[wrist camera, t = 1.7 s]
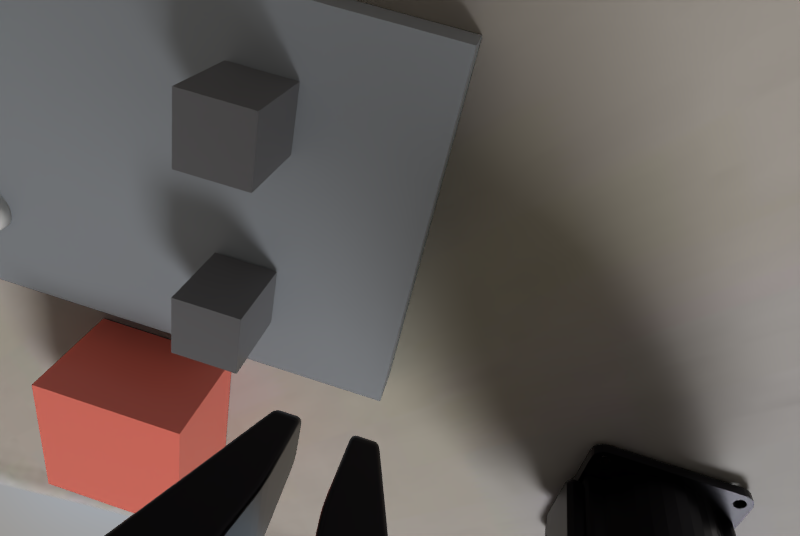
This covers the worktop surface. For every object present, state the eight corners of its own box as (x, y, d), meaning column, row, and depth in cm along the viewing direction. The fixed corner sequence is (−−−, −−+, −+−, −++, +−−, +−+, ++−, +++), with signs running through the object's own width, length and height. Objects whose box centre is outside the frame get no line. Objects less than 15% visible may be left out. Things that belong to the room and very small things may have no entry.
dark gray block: (299, 81, 18) (258, 111, 16) (291, 155, 20) (251, 193, 17) (224, 60, 18) (171, 85, 16) (220, 134, 20) (171, 169, 17)
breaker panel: (482, 35, 18) (472, 53, 16) (388, 376, 26) (373, 418, 24) (-70, -116, 19) (-145, -117, 17) (-2, 252, 27) (-49, 282, 25)
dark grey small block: (277, 271, 22) (240, 319, 20) (271, 322, 23) (236, 373, 21) (214, 252, 22) (171, 297, 20) (212, 304, 24) (171, 352, 21)
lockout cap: (232, 359, 27) (179, 434, 23) (225, 450, 31) (178, 528, 27) (103, 318, 28) (31, 384, 24) (110, 412, 31) (48, 483, 27)
